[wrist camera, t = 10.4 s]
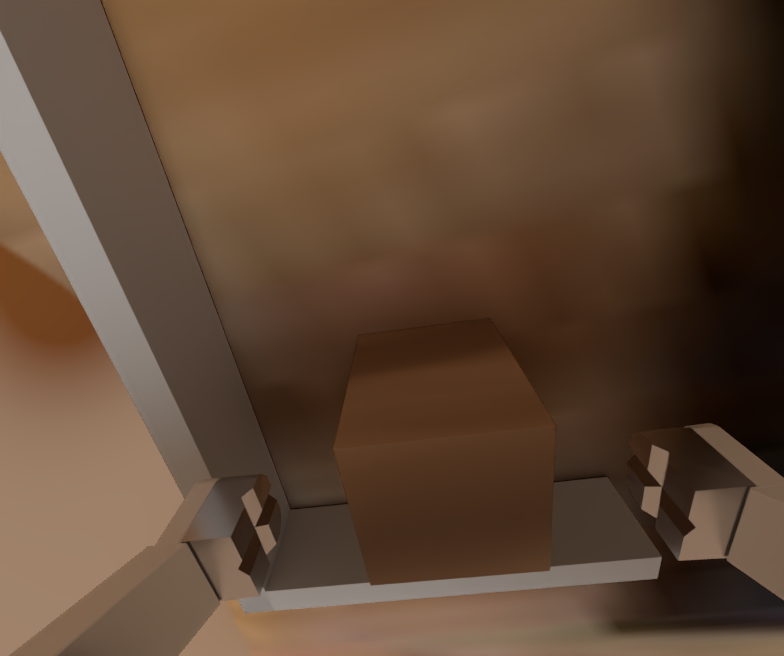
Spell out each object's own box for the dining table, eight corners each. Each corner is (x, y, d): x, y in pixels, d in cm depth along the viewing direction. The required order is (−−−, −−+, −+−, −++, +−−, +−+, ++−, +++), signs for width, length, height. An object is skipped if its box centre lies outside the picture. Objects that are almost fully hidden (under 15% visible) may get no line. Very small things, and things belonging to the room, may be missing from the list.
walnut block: (358, 334, 11) (333, 449, 7) (489, 317, 11) (556, 424, 6) (379, 436, 13) (370, 585, 8) (494, 423, 13) (550, 570, 8)
